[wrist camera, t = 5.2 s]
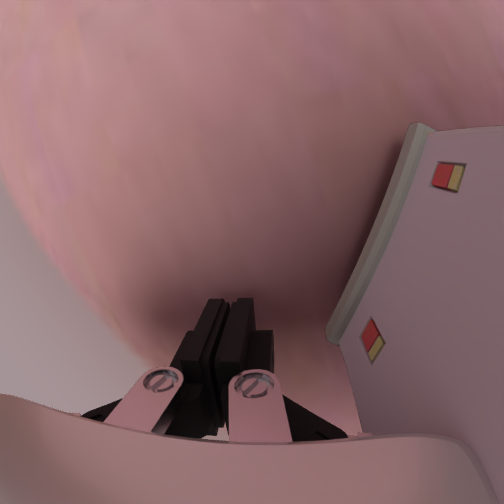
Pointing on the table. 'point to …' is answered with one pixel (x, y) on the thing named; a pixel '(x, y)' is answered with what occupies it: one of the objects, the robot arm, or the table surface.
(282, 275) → the table surface
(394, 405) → the toy vehicle
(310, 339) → the table surface
